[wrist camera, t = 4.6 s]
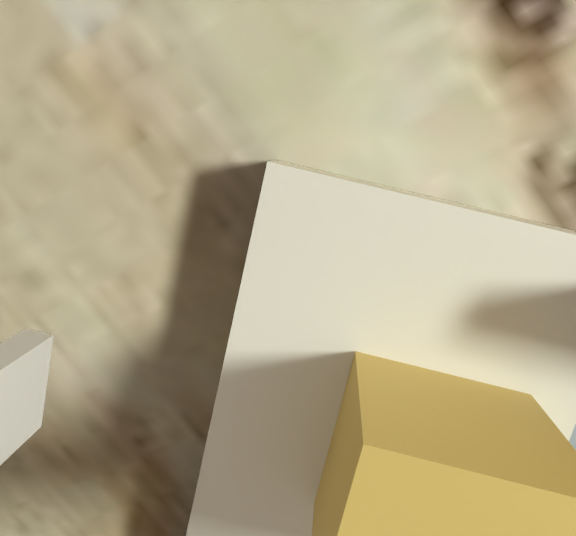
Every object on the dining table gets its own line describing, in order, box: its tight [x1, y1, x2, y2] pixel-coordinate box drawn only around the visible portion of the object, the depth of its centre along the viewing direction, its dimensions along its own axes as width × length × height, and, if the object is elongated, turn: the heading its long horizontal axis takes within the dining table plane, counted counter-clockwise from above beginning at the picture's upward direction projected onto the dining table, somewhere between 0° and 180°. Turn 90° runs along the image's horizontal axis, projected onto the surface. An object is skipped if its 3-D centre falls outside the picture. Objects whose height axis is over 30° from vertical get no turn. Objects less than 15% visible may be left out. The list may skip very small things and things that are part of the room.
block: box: [312, 351, 576, 536], centre depth 13 cm, size 5×5×5 cm
